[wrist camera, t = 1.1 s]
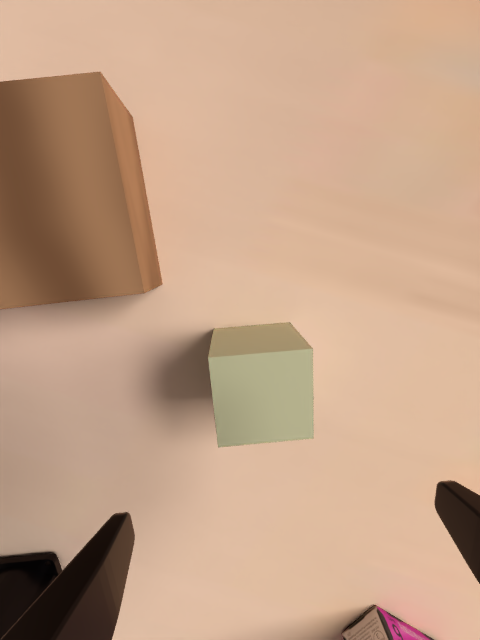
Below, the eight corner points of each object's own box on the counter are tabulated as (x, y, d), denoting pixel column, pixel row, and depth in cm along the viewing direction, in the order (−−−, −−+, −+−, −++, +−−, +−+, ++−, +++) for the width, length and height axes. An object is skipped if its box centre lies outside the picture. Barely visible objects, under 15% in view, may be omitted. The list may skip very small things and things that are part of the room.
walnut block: (21, 299, 17) (-43, 313, 13) (-31, 137, 14) (-127, 94, 11) (163, 283, 17) (144, 292, 13) (134, 119, 14) (100, 71, 11)
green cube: (220, 396, 19) (218, 447, 14) (213, 328, 17) (208, 357, 12) (291, 390, 19) (313, 438, 14) (289, 322, 17) (312, 348, 13)
